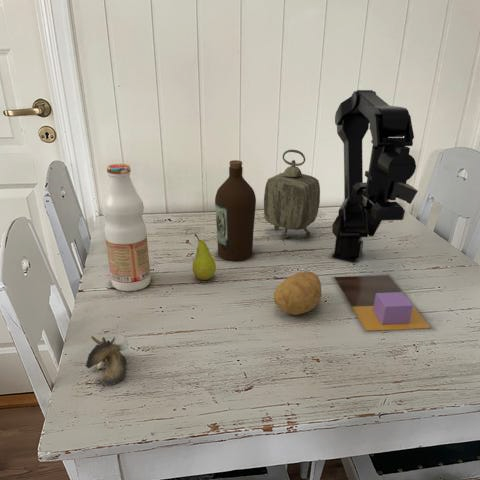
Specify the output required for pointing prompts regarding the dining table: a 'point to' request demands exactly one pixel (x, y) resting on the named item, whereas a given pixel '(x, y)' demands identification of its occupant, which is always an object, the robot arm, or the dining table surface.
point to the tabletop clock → (292, 198)
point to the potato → (298, 293)
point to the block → (392, 308)
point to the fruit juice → (125, 231)
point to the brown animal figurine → (109, 358)
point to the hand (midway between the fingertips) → (370, 235)
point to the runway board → (365, 288)
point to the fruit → (203, 262)
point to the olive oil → (235, 215)
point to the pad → (374, 324)
